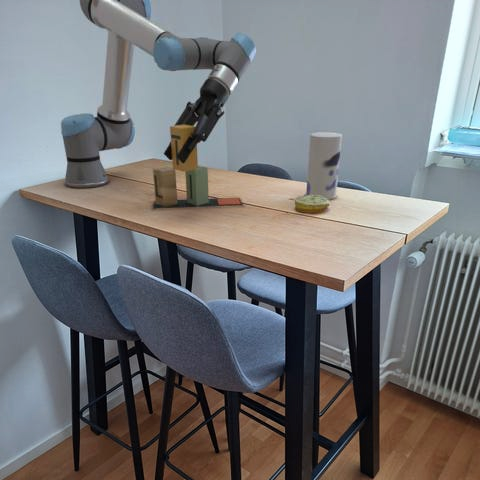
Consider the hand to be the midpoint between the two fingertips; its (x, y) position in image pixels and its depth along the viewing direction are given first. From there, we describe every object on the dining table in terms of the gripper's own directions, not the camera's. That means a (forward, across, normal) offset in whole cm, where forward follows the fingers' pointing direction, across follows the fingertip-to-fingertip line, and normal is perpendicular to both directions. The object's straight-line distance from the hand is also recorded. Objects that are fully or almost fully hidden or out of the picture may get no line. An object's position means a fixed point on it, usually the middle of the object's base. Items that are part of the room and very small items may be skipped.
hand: (173, 158), depth 126 cm
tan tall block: (+7, -16, +18) cm, 25 cm away
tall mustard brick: (0, 0, +5) cm, 5 cm away
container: (-24, +11, +50) cm, 56 cm away
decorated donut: (-14, +18, +40) cm, 46 cm away
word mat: (+1, -10, +24) cm, 26 cm away
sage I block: (+1, -10, +24) cm, 26 cm away
